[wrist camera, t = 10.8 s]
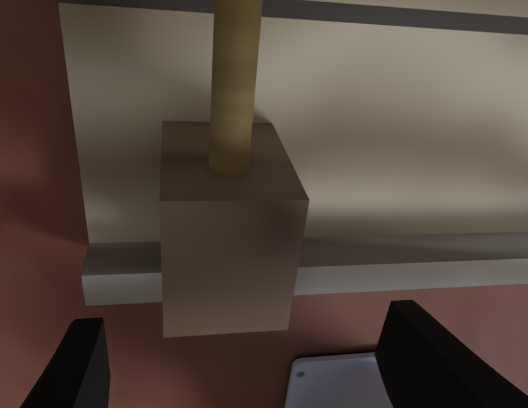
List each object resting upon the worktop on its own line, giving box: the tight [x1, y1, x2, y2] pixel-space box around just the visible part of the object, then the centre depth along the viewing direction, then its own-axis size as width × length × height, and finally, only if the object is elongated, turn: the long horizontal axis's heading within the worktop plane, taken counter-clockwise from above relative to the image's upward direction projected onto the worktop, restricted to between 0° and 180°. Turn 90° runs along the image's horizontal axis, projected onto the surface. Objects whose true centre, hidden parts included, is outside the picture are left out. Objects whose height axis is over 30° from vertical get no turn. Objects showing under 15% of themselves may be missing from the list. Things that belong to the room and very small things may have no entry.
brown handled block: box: [159, 0, 309, 338], centre depth 14 cm, size 10×4×6 cm, turn 175°
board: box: [58, 0, 528, 306], centre depth 18 cm, size 13×28×4 cm, turn 85°
